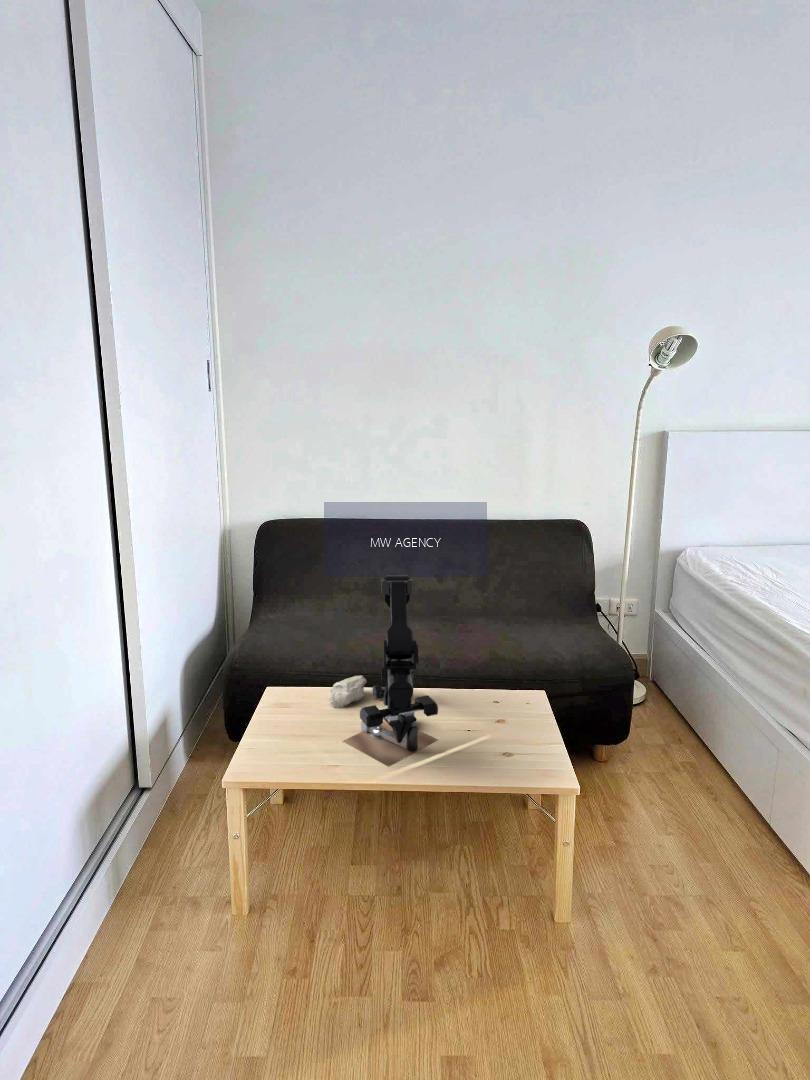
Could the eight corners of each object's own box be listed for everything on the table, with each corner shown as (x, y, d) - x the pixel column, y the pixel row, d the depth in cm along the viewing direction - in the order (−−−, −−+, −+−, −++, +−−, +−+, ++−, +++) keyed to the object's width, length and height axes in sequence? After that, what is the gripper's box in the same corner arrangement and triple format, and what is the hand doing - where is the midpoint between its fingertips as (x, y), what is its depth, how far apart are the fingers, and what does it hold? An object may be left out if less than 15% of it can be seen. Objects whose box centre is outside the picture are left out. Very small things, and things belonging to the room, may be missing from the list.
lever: (370, 725, 195) (370, 703, 193) (420, 747, 184) (421, 725, 182) (361, 730, 192) (360, 708, 191) (411, 753, 181) (411, 730, 180)
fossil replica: (321, 710, 206) (354, 718, 203) (321, 684, 203) (355, 692, 200) (338, 689, 217) (370, 697, 214) (339, 664, 214) (371, 672, 211)
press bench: (398, 717, 202) (398, 702, 200) (444, 739, 190) (445, 723, 189) (342, 744, 187) (342, 728, 186) (388, 770, 176) (388, 753, 175)
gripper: (420, 665, 188) (419, 720, 192) (352, 677, 181) (352, 734, 185) (439, 683, 178) (438, 740, 182) (367, 696, 171) (367, 755, 175)
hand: (398, 742), depth 181 cm, fingers closed
